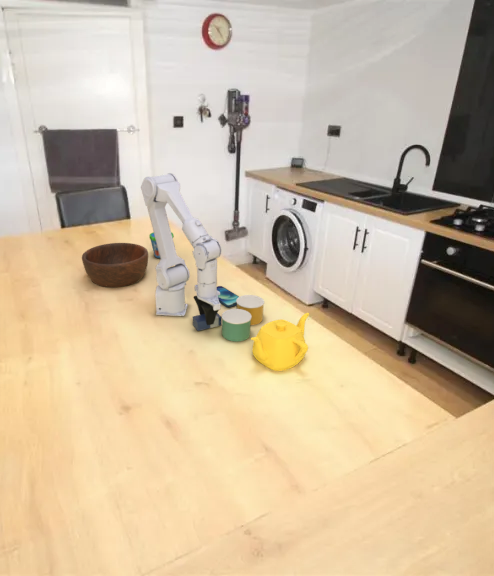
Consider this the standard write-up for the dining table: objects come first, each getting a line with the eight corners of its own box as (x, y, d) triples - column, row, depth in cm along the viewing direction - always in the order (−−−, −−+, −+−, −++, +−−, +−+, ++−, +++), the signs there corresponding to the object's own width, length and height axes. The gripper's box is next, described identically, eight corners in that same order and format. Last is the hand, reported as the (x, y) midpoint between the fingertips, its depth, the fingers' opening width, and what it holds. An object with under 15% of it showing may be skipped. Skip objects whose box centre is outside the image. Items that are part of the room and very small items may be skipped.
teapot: (274, 390, 100) (277, 353, 95) (232, 360, 111) (233, 326, 106) (330, 358, 112) (336, 324, 107) (288, 334, 123) (291, 302, 118)
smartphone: (220, 285, 152) (245, 300, 141) (220, 287, 153) (245, 302, 141) (203, 290, 149) (227, 306, 137) (203, 292, 149) (227, 308, 137)
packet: (197, 331, 123) (197, 322, 122) (192, 324, 126) (192, 316, 125) (221, 325, 126) (221, 316, 125) (215, 319, 129) (215, 311, 128)
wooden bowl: (71, 284, 155) (67, 259, 151) (109, 262, 176) (106, 239, 172) (127, 295, 147) (125, 269, 142) (160, 270, 168) (159, 246, 163)
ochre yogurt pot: (235, 324, 128) (235, 306, 125) (236, 311, 136) (236, 294, 133) (263, 325, 127) (264, 308, 125) (262, 312, 135) (263, 295, 133)
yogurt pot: (220, 341, 120) (220, 322, 117) (222, 325, 127) (222, 308, 125) (250, 342, 119) (251, 324, 116) (250, 327, 127) (251, 309, 124)
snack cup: (149, 251, 189) (147, 229, 184) (171, 249, 191) (170, 228, 186) (152, 263, 175) (151, 240, 171) (176, 261, 177) (176, 238, 173)
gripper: (230, 287, 115) (229, 329, 121) (209, 269, 127) (209, 307, 133) (207, 292, 113) (207, 334, 118) (188, 273, 125) (189, 312, 130)
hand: (207, 320), depth 126 cm, fingers closed on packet, 4 cm apart
